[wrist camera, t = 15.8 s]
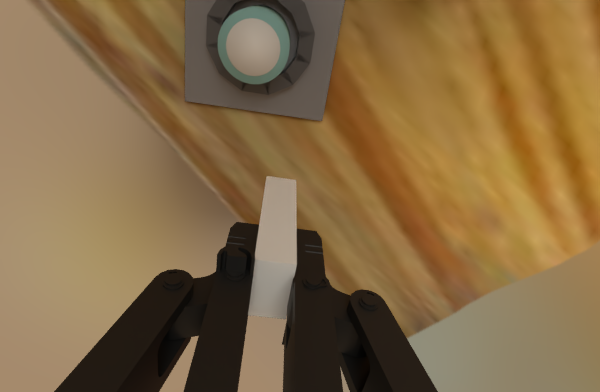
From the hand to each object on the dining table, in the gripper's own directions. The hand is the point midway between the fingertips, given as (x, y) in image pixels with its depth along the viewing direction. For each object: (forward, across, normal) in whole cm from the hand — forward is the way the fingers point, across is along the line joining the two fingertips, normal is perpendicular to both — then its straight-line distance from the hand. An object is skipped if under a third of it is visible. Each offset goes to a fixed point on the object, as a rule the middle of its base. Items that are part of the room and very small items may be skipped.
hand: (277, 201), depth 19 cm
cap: (+26, -4, +4) cm, 27 cm away
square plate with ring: (+27, -3, +5) cm, 28 cm away
